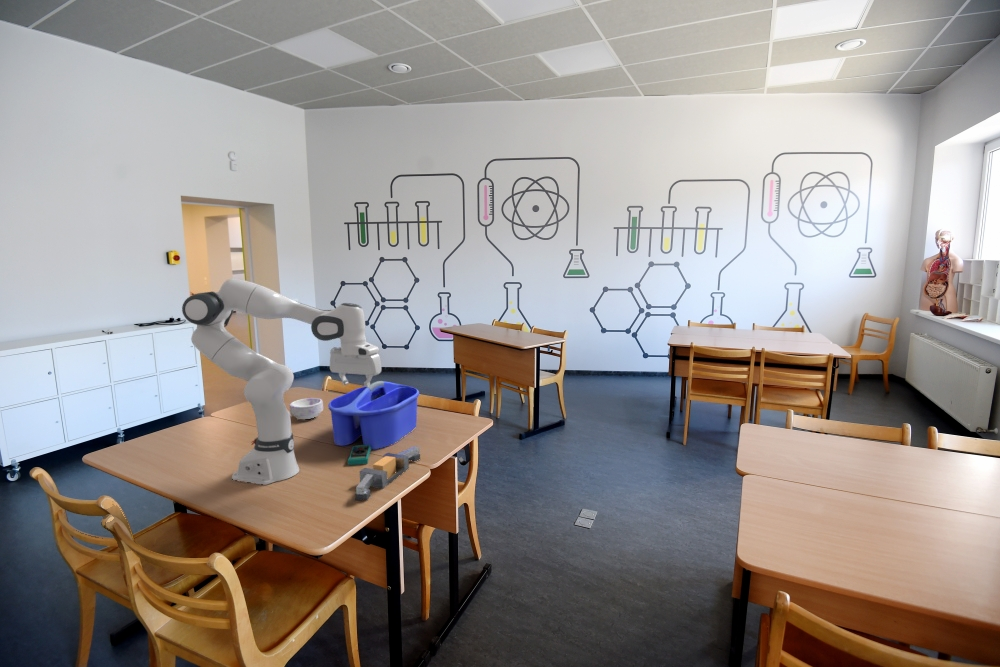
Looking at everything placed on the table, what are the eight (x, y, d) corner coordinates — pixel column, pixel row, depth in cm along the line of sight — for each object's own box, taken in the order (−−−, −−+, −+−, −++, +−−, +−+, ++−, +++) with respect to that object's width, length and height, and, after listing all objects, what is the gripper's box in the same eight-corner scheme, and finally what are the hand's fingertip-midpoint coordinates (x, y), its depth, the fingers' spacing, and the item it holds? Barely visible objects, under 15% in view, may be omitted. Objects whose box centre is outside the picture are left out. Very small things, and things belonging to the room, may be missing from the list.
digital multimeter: (371, 450, 205) (371, 443, 204) (367, 465, 190) (367, 457, 190) (352, 452, 203) (352, 445, 203) (347, 466, 189) (347, 459, 188)
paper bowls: (283, 421, 242) (282, 405, 240) (304, 411, 256) (303, 396, 255) (310, 423, 237) (309, 407, 236) (330, 414, 252) (329, 398, 250)
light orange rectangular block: (383, 482, 175) (382, 466, 174) (373, 480, 176) (373, 464, 175) (396, 473, 182) (395, 457, 181) (386, 471, 183) (385, 455, 183)
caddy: (431, 420, 239) (429, 372, 236) (383, 456, 197) (380, 399, 194) (373, 415, 249) (370, 369, 245) (315, 448, 206) (311, 393, 203)
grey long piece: (365, 502, 160) (364, 487, 160) (341, 498, 163) (340, 483, 163) (422, 458, 194) (421, 446, 194) (402, 455, 198) (401, 443, 197)
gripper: (324, 348, 182) (327, 385, 184) (372, 351, 175) (374, 389, 177) (335, 345, 188) (338, 381, 190) (382, 348, 180) (384, 385, 183)
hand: (356, 385), depth 183 cm, fingers open, 8 cm apart
